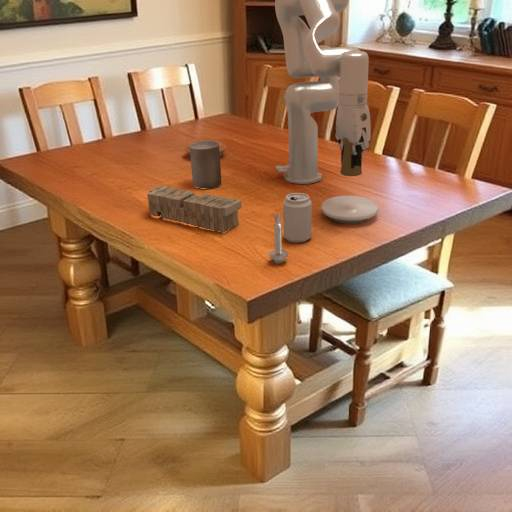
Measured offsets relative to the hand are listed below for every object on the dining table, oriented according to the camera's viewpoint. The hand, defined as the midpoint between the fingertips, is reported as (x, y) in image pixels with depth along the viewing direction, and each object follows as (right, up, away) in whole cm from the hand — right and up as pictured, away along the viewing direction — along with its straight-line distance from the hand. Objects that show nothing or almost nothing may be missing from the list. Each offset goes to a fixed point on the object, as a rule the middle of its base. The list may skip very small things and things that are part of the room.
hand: (351, 165), depth 189 cm
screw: (-21, -27, -19) cm, 39 cm away
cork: (0, -2, +1) cm, 2 cm away
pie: (-45, +12, +66) cm, 81 cm away
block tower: (-45, -16, +8) cm, 48 cm away
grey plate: (0, -14, +7) cm, 15 cm away
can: (-15, -21, -6) cm, 26 cm away
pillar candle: (-43, -2, +36) cm, 56 cm away
